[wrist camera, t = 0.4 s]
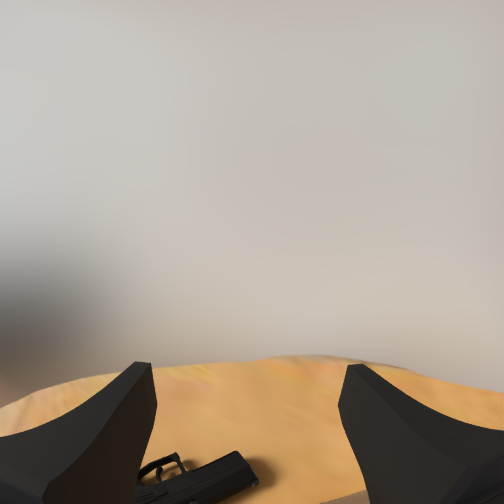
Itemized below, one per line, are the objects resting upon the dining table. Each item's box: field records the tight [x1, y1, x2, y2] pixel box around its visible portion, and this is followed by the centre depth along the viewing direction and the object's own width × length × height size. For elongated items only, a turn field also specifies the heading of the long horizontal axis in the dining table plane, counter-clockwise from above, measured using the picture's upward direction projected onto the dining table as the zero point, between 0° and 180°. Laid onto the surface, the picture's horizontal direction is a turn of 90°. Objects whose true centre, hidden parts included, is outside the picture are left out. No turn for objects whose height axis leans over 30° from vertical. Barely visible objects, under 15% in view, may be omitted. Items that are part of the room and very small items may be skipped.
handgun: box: [133, 451, 259, 504], centre depth 23 cm, size 3×17×12 cm
